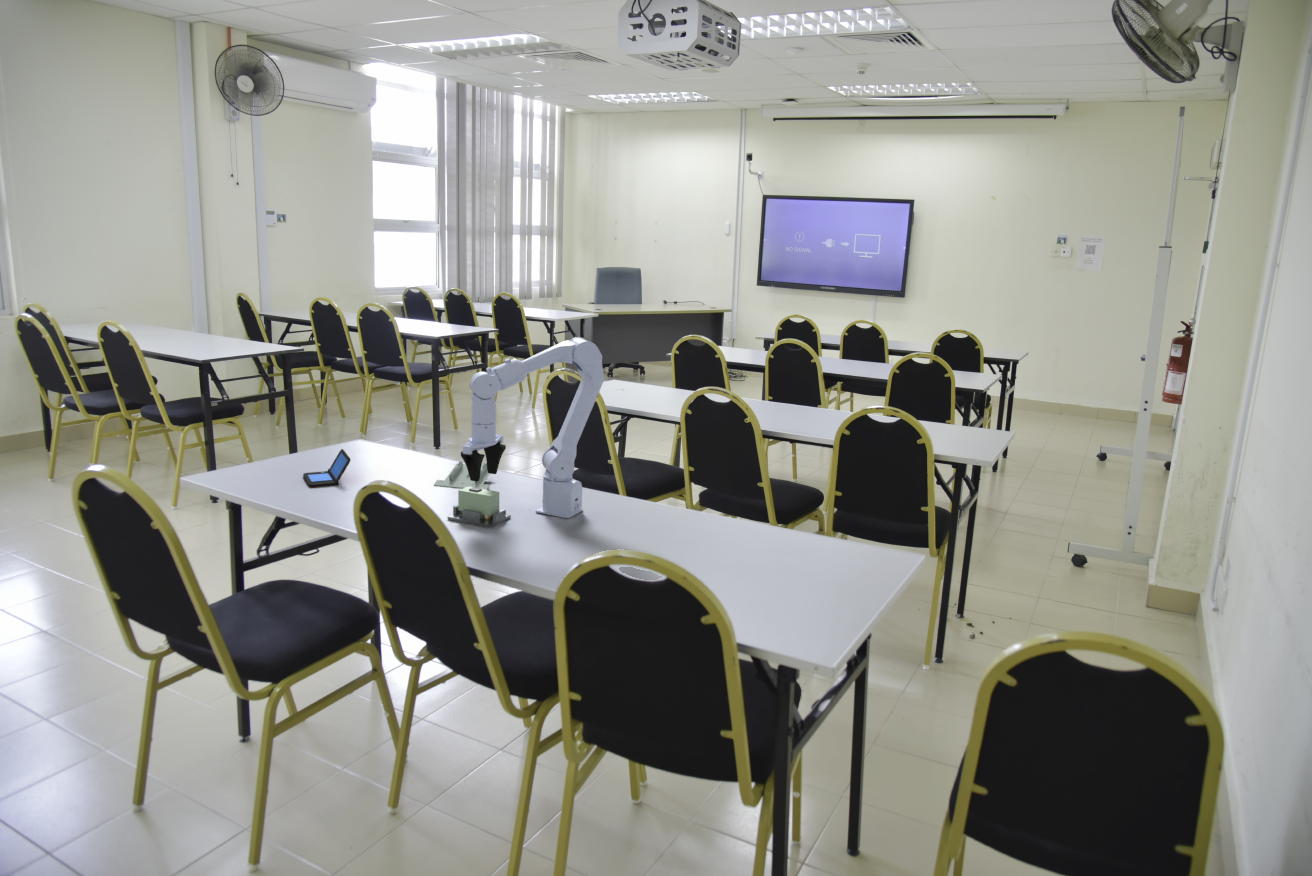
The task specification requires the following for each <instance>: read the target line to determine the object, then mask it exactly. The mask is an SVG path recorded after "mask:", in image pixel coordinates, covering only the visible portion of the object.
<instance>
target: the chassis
mask: <svg viewBox="0 0 1312 876" xmlns="http://www.w3.org/2000/svg"><path fill="white" fill-rule="evenodd" d="M452 510H453V511H452V514H451V515H448V516H447V520H448V521H452V522H457V523H461V524H465V525H466V524H467V525H472V526H477V527H481V528H486V529H487V528H488V529H491V528H493V527H495V526H497V525H499V524H502V523H504V522H506V521H507V520H510V519H511V517H512V515H511V514H507V509H504V508H502V509H499V511H498V512H496V513H494V514H493V515H491V516H487V515H482V513H481V512H476V511H471V510H466V509H463V510H462V511H461V510H458V503H457V504H455V505H453V507H452Z"/></svg>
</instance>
